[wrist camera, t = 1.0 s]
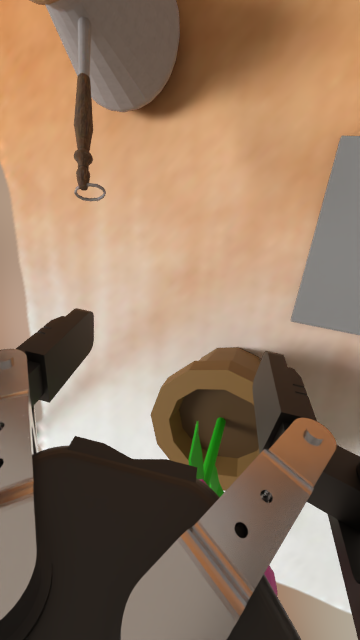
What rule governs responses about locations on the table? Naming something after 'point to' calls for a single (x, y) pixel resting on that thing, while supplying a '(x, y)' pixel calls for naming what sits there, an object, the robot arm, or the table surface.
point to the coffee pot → (114, 59)
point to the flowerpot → (211, 419)
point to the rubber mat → (335, 250)
